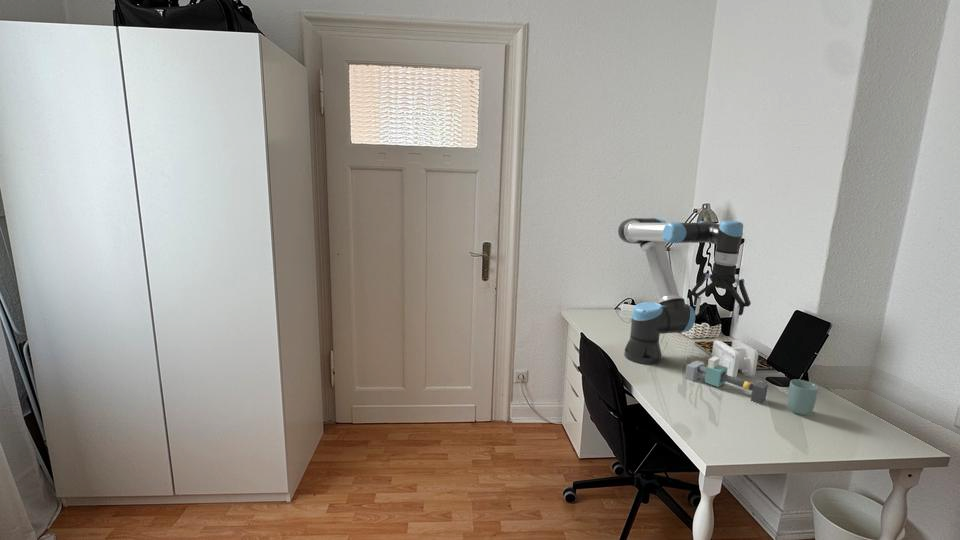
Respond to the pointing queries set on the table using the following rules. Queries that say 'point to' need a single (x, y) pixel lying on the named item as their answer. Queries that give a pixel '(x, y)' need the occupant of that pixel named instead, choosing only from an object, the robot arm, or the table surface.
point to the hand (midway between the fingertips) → (715, 318)
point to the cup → (802, 396)
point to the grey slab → (693, 370)
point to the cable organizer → (736, 357)
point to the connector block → (759, 392)
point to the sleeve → (715, 372)
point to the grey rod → (730, 379)
